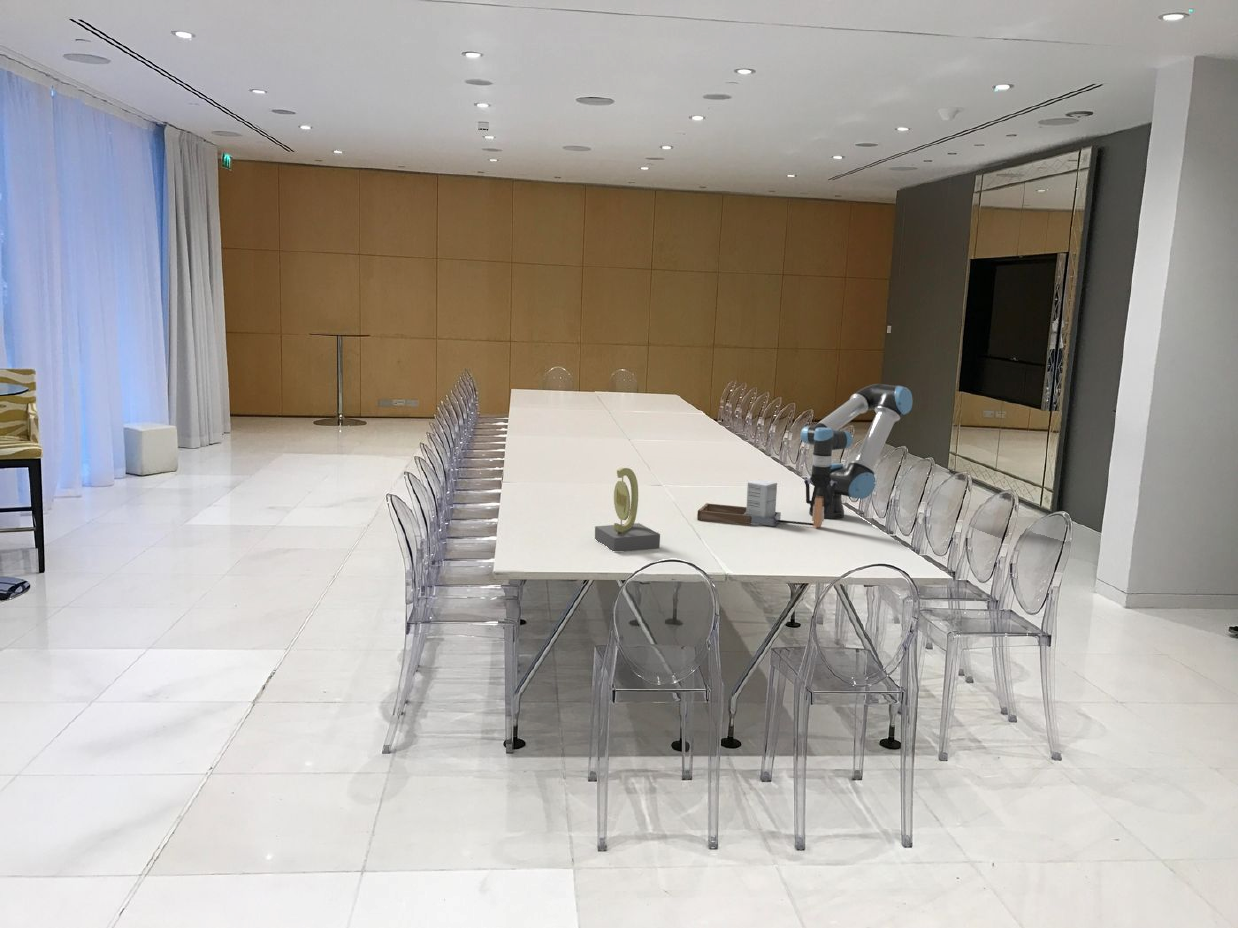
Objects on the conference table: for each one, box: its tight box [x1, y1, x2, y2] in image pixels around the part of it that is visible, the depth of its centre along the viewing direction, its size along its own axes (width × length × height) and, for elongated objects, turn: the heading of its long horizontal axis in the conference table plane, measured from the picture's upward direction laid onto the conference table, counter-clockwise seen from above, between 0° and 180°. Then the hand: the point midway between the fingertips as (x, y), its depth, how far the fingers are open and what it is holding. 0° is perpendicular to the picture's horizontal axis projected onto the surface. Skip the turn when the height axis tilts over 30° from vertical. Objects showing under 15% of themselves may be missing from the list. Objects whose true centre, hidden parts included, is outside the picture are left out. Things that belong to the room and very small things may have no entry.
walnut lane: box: [696, 502, 751, 526], centre depth 427 cm, size 17×22×4 cm
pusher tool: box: [743, 496, 824, 528], centre depth 419 cm, size 13×32×12 cm, turn 72°
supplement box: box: [745, 479, 778, 518], centre depth 421 cm, size 10×9×17 cm
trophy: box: [594, 467, 661, 552], centre depth 377 cm, size 19×19×30 cm
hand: (817, 520), depth 415 cm, fingers closed on pusher tool, 3 cm apart
